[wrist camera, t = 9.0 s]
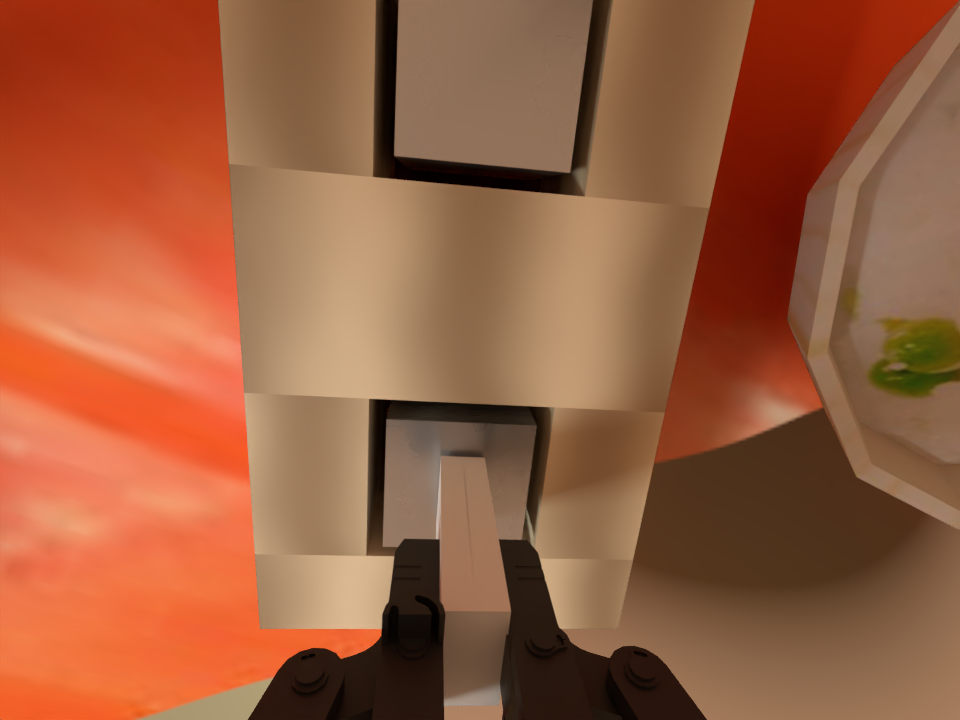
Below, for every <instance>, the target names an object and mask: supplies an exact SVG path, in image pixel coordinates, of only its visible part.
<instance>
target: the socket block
mask: <svg viewBox="0 0 960 720" xmlns="http://www.w3.org/2000/svg"><path fill="white" fill-rule="evenodd" d="M754 2H755V0H593V4H592V11H591V19H590V27H589V34H588V42H587V49H586V57H585V64H584V72H583V79H582V87H581V95H580V102H579V110H578V117H577V125H576V132H575V140H574V148H573V155H572V163H571V170H570V173H567V174H561V175H556V176H551V177H545V178H541V187H540V192H529V191H518V190H507V189H496V188H485V187H475V186H464V185H453V184H442V183H431V182H420V181H410V180H399V179H394V162H395V156H394V143H395V108H396V74H397V39H398V5H399V0H218V8H219V23H220V38H221V53H222V68H223V83H224V98H225V113H226V127H227V142H228V157H229V172H230V187H231V202H232V217H233V232H234V247H235V262H236V277H237V292H238V307H239V322H240V337H241V352H242V367H243V382H244V397H245V412H246V427H247V442H248V457H249V472H250V487H251V502H252V517H253V532H254V547H255V562H256V577H257V592H258V607H259V622H260V629H382V614H383V611H384V609H385V606H386V604H387V603H388V602H389V595H390V587H391V580H392V572H393V564H394V556H395V551H396V549H397V548H398V547H383V520H384V486H385V451H386V419H387V400H407V401H428V402H449V403H471V404H492V405H513V406H528V407H529V409H530V411H531V414H532V416H533V418H534V420H535V423H536V425H537V428H536V435H535V443H534V450H533V458H532V465H531V473H530V481H529V488H528V496H527V503H526V511H525V518H524V526H523V533H522V540H528V541H529V542H530V544H531V545H532V546H533V547H534V548H535V550H536V551H537V552H538V555H539V558H540V562H541V565H542V569H543V573H544V576H545V581H546V584H547V587H548V591H549V594H550V598H551V602H552V605H553V609H554V612H555V616H556V620H557V623H558V626H559V628H560V629H618V625H619V621H620V616H621V612H622V607H623V603H624V598H625V593H626V589H627V584H628V579H629V575H630V570H631V566H632V561H633V557H634V552H635V547H636V543H637V538H638V533H639V529H640V525H641V520H642V515H643V511H644V506H645V501H646V497H647V492H648V488H649V483H650V479H651V474H652V470H653V465H654V460H655V456H656V451H657V447H658V442H659V438H660V433H661V428H662V424H663V419H664V415H665V410H666V405H667V401H668V396H669V392H670V387H671V383H672V378H673V373H674V369H675V364H676V360H677V355H678V351H679V346H680V341H681V337H682V332H683V328H684V323H685V318H686V314H687V309H688V305H689V300H690V296H691V291H692V286H693V282H694V277H695V273H696V268H697V263H698V259H699V254H700V250H701V245H702V241H703V236H704V231H705V227H706V222H707V218H708V213H709V208H710V204H711V199H712V195H713V190H714V186H715V181H716V176H717V172H718V167H719V163H720V158H721V153H722V149H723V144H724V140H725V135H726V131H727V126H728V121H729V117H730V112H731V108H732V103H733V98H734V94H735V89H736V85H737V80H738V76H739V71H740V66H741V62H742V57H743V53H744V48H745V43H746V39H747V34H748V30H749V25H750V21H751V16H752V11H753V7H754Z"/></svg>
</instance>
